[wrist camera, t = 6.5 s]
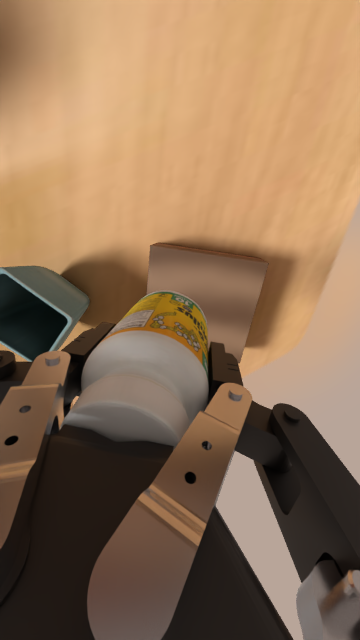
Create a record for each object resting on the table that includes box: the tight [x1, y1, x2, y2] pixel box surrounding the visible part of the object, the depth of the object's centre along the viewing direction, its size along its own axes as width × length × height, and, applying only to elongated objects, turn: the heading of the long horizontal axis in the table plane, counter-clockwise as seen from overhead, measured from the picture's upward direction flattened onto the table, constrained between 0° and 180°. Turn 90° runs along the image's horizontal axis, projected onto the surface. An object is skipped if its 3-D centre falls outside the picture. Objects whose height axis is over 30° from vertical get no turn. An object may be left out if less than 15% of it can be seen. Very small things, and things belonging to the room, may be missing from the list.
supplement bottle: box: [60, 290, 209, 451], centre depth 11 cm, size 5×5×10 cm
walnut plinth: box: [147, 243, 269, 363], centre depth 29 cm, size 13×13×4 cm
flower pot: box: [0, 266, 90, 362], centre depth 28 cm, size 9×9×9 cm
